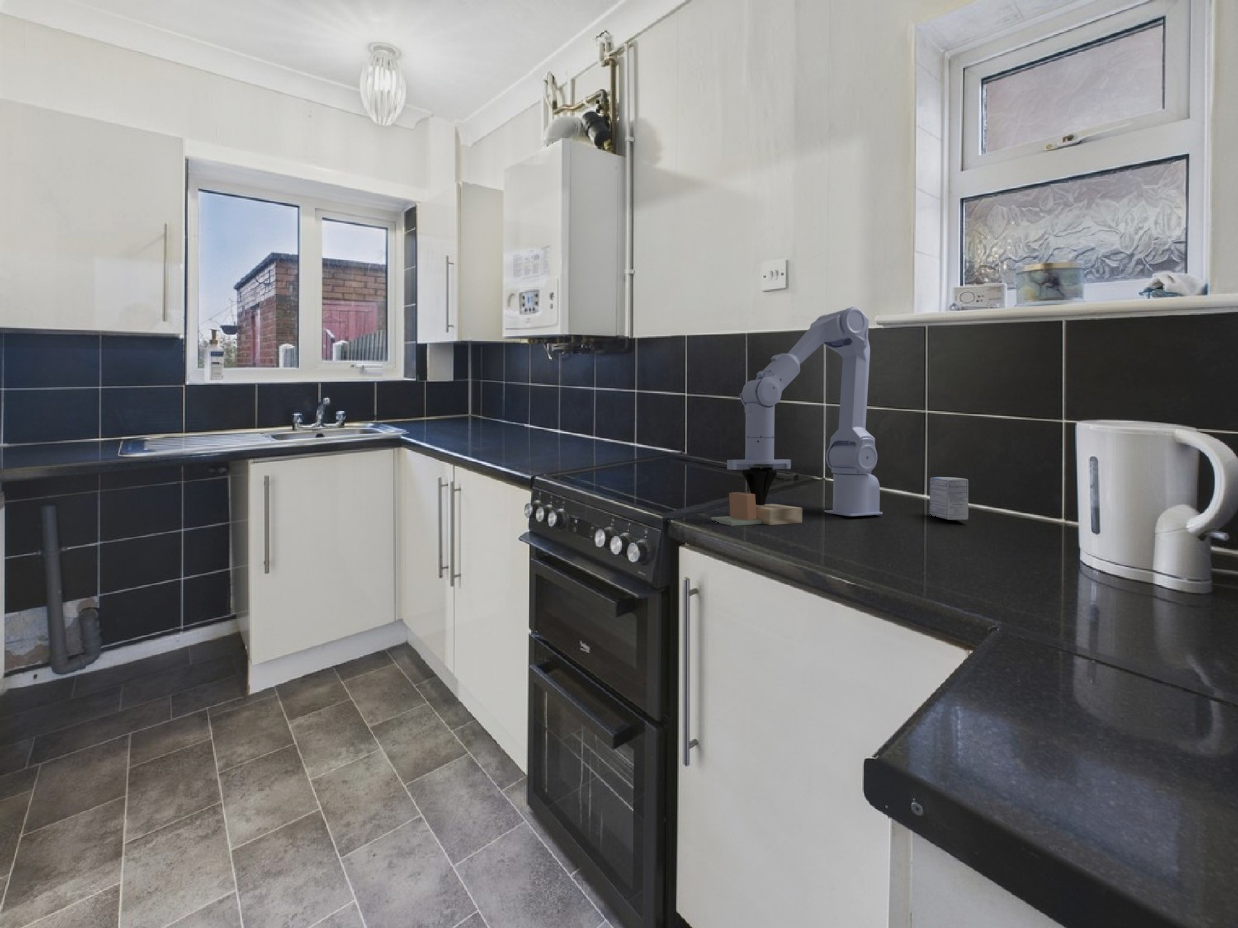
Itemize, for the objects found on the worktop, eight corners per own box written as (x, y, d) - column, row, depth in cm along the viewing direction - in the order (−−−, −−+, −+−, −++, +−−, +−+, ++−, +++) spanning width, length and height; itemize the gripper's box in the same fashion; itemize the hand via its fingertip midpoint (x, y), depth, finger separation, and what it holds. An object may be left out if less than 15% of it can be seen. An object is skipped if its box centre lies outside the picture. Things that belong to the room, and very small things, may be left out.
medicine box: (968, 520, 127) (969, 479, 127) (947, 520, 127) (948, 478, 127) (949, 515, 135) (949, 477, 135) (928, 515, 135) (929, 476, 135)
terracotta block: (737, 491, 125) (729, 493, 124) (755, 494, 120) (746, 495, 119) (738, 515, 125) (730, 517, 125) (756, 519, 120) (748, 520, 119)
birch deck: (773, 517, 130) (773, 503, 130) (802, 522, 122) (802, 507, 122) (742, 519, 127) (742, 505, 127) (770, 524, 119) (770, 509, 119)
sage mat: (739, 519, 127) (739, 515, 127) (761, 523, 120) (761, 519, 120) (710, 521, 124) (710, 517, 124) (732, 525, 117) (732, 521, 117)
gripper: (775, 438, 130) (774, 501, 130) (718, 438, 124) (718, 504, 124) (798, 438, 123) (797, 504, 124) (739, 437, 117) (738, 507, 118)
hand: (759, 504), depth 124 cm, fingers closed
